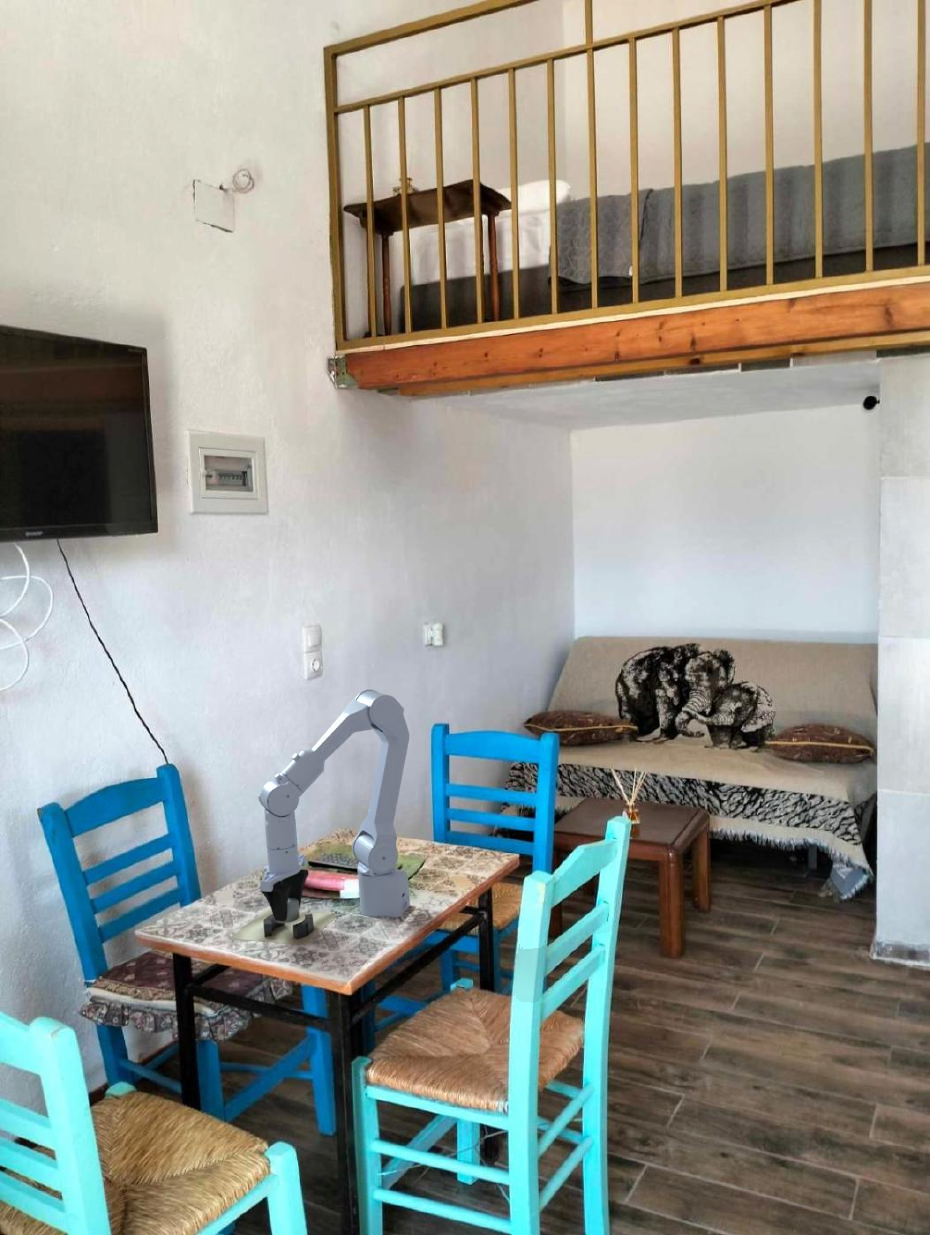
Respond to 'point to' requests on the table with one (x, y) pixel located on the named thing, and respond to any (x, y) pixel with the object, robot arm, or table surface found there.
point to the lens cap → (291, 911)
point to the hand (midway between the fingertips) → (287, 914)
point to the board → (282, 929)
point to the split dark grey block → (298, 929)
